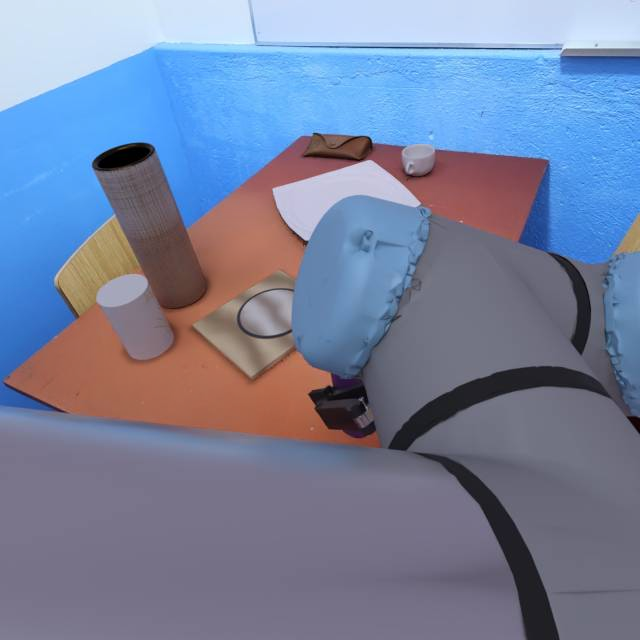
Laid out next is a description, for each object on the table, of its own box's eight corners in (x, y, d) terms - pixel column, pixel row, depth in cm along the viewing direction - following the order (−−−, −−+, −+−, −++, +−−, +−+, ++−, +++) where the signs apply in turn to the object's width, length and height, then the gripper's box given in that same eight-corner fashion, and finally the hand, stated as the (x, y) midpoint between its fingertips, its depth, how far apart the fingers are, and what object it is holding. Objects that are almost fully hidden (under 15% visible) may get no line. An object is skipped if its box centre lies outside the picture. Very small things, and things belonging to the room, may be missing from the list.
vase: (157, 315, 87) (87, 175, 69) (157, 284, 95) (93, 150, 76) (209, 300, 88) (154, 159, 70) (205, 271, 96) (154, 136, 77)
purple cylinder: (359, 449, 52) (350, 380, 44) (332, 426, 55) (318, 357, 47) (385, 424, 54) (381, 354, 46) (358, 404, 57) (350, 334, 49)
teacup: (411, 163, 118) (411, 142, 115) (439, 167, 115) (440, 145, 111) (392, 181, 113) (391, 159, 109) (421, 186, 109) (422, 164, 105)
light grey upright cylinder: (179, 345, 80) (153, 292, 72) (133, 367, 78) (101, 314, 70) (166, 320, 86) (141, 267, 78) (123, 339, 84) (92, 287, 76)
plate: (373, 166, 120) (373, 156, 118) (430, 216, 99) (430, 205, 97) (267, 197, 115) (265, 187, 113) (303, 257, 95) (301, 246, 93)
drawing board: (252, 381, 72) (250, 376, 72) (193, 328, 83) (191, 323, 82) (344, 312, 81) (344, 307, 80) (280, 273, 92) (279, 268, 91)
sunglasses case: (300, 155, 129) (303, 129, 127) (312, 158, 135) (314, 133, 134) (362, 160, 122) (365, 132, 120) (370, 162, 128) (374, 136, 127)
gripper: (416, 491, 30) (294, 464, 51) (558, 341, 37) (400, 371, 58) (350, 395, 29) (254, 408, 50) (507, 262, 37) (366, 322, 58)
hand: (333, 388), depth 54 cm, fingers closed on purple cylinder, 4 cm apart
